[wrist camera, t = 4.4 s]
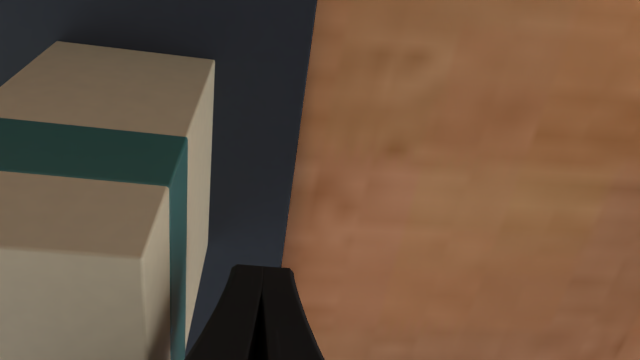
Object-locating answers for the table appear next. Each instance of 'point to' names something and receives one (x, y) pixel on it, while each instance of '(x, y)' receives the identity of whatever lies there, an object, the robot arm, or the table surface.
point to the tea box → (103, 203)
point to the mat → (228, 106)
